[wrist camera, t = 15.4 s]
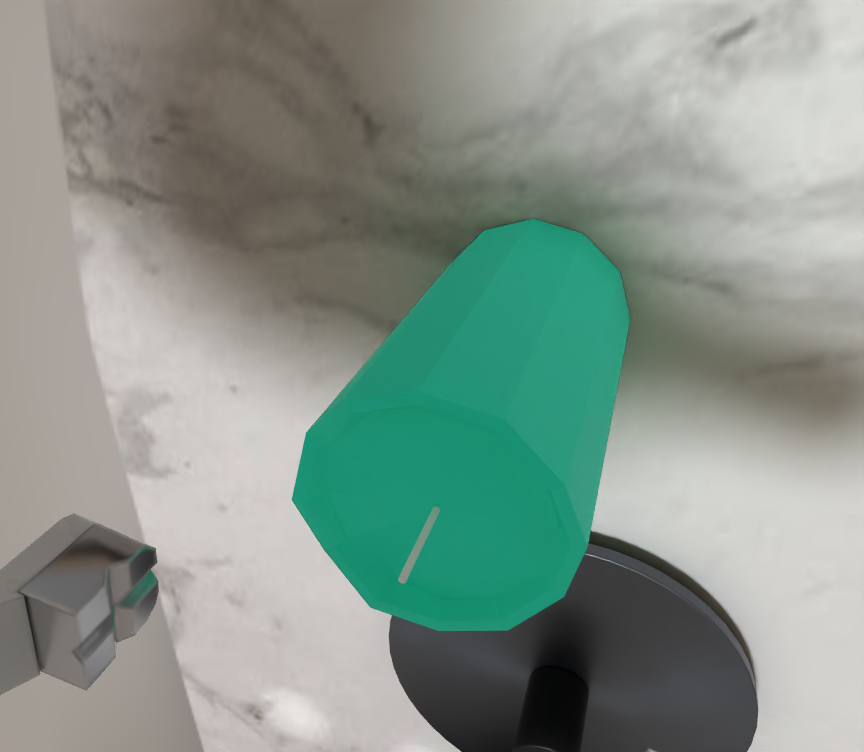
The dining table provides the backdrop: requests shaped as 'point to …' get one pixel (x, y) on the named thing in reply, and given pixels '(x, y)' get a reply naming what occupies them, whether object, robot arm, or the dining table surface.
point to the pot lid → (587, 671)
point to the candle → (475, 436)
